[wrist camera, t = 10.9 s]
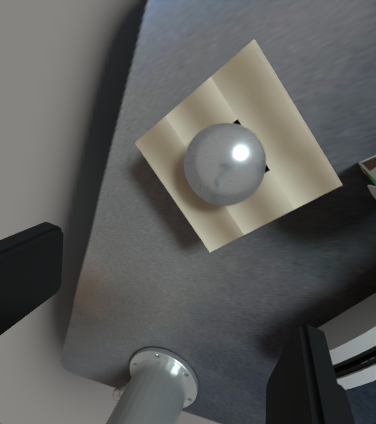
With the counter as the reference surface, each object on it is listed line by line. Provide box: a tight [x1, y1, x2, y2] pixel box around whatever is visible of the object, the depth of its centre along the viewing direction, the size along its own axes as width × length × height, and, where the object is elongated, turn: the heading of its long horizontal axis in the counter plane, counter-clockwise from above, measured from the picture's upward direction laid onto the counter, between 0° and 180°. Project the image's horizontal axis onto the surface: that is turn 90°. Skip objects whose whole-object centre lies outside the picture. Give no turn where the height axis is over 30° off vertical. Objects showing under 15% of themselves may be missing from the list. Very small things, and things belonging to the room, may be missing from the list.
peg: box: [184, 123, 266, 206], centre depth 25 cm, size 7×7×8 cm
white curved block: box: [317, 293, 376, 389], centre depth 27 cm, size 17×5×10 cm, turn 142°
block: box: [135, 39, 343, 252], centre depth 27 cm, size 14×14×6 cm
